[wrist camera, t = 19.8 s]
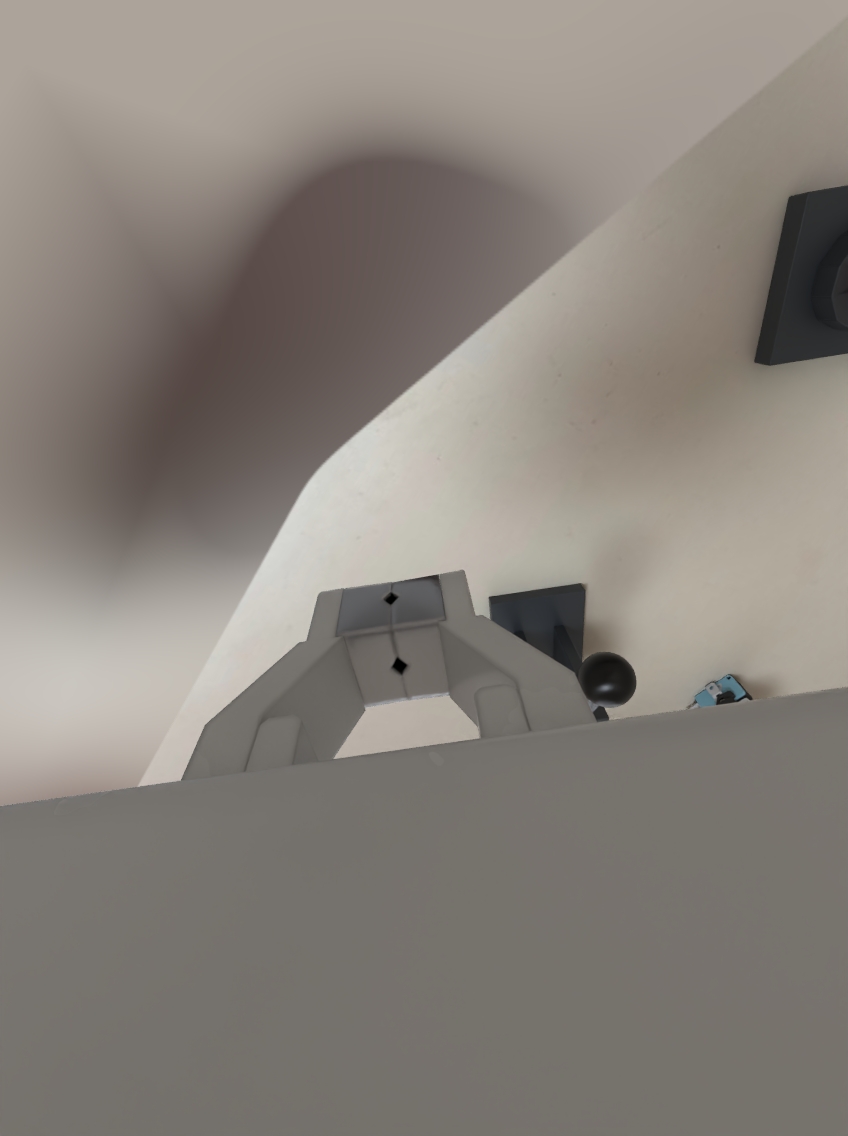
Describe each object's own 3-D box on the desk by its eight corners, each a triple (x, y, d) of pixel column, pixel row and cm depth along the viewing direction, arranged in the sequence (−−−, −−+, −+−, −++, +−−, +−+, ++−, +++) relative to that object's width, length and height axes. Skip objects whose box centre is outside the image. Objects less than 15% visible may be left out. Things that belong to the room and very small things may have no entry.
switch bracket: (488, 596, 45) (517, 696, 34) (581, 583, 45) (640, 679, 34) (496, 684, 51) (523, 792, 41) (577, 673, 51) (626, 778, 40)
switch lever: (577, 648, 27) (593, 704, 25) (632, 640, 27) (652, 695, 25) (543, 709, 41) (552, 747, 39) (579, 704, 41) (590, 742, 39)
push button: (697, 717, 56) (751, 795, 47) (672, 698, 54) (724, 775, 45) (747, 686, 54) (814, 762, 45) (723, 664, 52) (788, 739, 43)
